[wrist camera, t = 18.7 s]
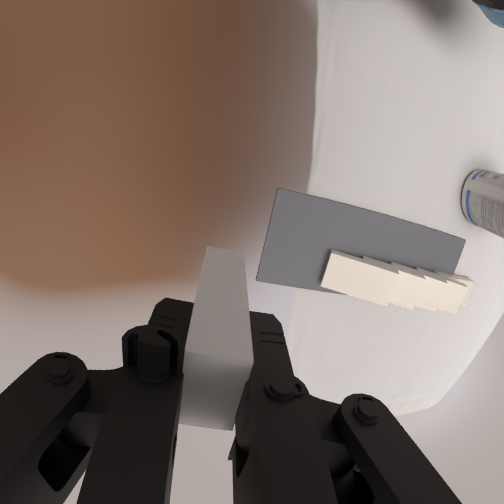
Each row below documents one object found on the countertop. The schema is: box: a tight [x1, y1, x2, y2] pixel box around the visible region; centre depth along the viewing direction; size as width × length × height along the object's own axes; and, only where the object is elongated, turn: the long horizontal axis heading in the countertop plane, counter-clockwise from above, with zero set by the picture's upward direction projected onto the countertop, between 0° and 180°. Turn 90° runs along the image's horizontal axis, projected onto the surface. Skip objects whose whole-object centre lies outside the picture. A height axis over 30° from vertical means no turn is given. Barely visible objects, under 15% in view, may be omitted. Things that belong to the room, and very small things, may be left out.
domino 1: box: [321, 249, 400, 307], centre depth 40 cm, size 5×2×10 cm
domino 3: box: [390, 261, 448, 312], centre depth 41 cm, size 5×2×10 cm
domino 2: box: [362, 256, 426, 310], centre depth 40 cm, size 5×2×10 cm
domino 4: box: [416, 267, 468, 315], centre depth 41 cm, size 5×2×10 cm
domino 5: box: [434, 271, 475, 307], centre depth 44 cm, size 5×2×10 cm
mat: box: [256, 188, 466, 295], centre depth 42 cm, size 13×34×1 cm, turn 78°
